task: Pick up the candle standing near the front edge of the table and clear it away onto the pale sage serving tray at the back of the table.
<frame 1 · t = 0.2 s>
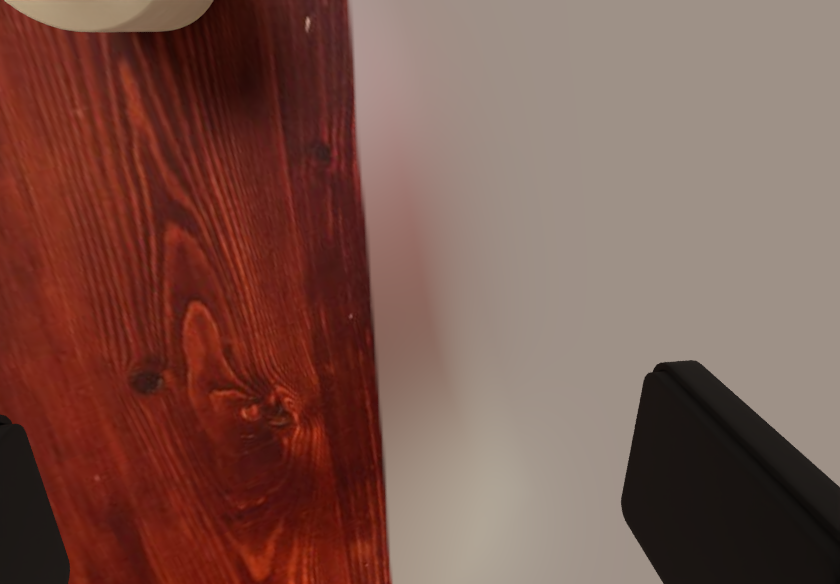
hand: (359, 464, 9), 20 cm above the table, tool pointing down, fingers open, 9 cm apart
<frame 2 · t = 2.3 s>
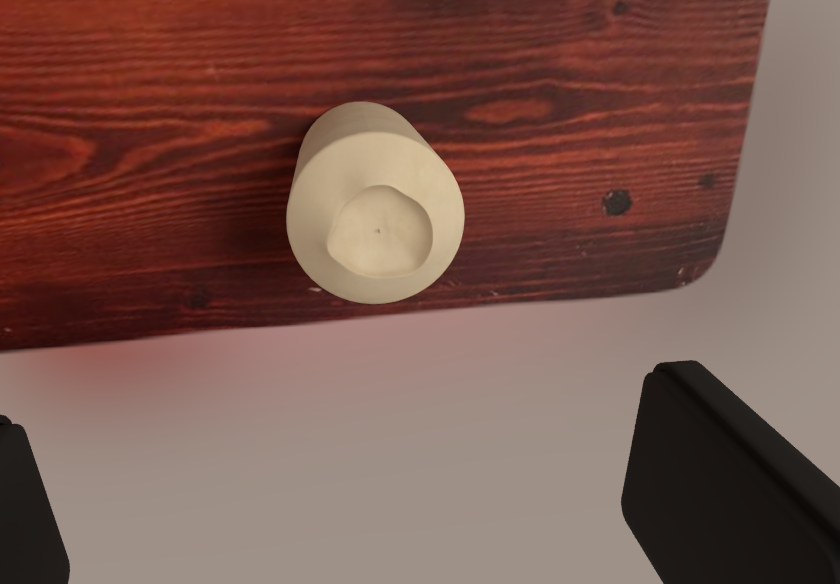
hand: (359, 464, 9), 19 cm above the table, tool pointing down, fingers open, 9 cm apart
candle: (362, 164, 26), on the table
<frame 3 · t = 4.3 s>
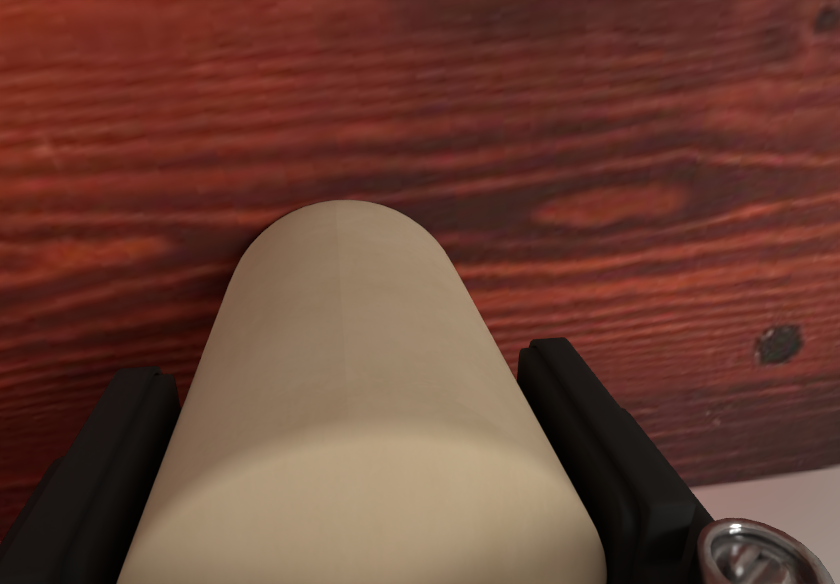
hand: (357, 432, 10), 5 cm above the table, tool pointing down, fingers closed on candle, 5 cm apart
candle: (346, 303, 14), on the table, touching gripper
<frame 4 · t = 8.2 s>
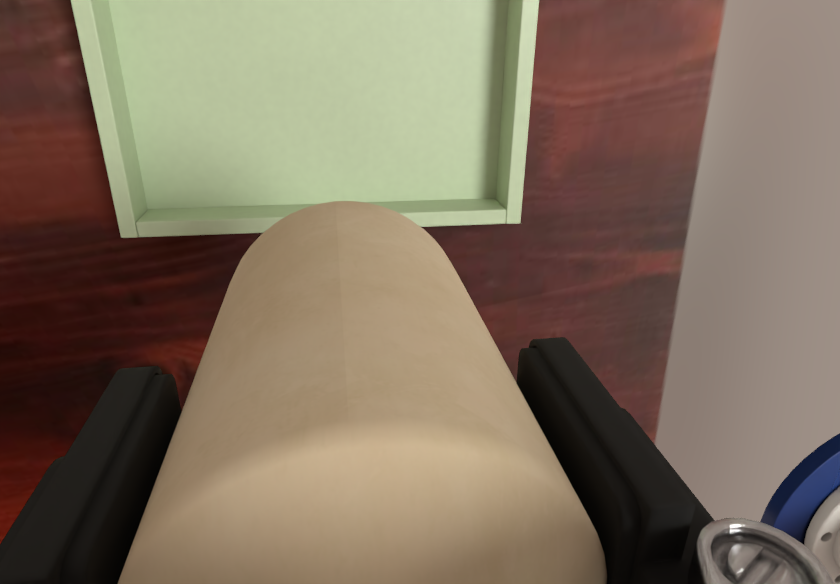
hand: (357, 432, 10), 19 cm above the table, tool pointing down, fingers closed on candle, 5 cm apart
tray: (321, 64, 25), on the table
candle: (346, 304, 14), point 14 cm above the table, touching gripper
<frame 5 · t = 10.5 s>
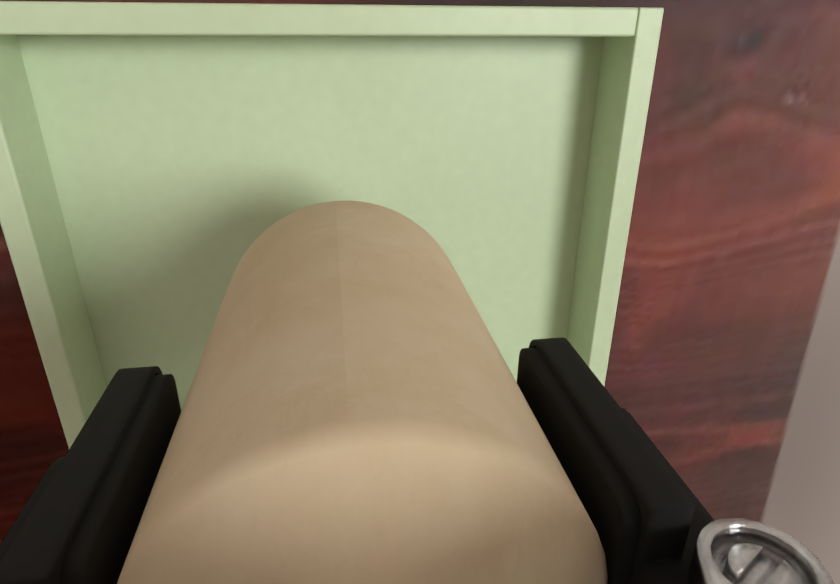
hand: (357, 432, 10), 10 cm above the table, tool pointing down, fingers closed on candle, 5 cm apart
tray: (340, 234, 19), on the table
candle: (346, 303, 14), point 5 cm above the table, touching gripper
when the fingers open (6 cm above the table, at t = 12.2 s): candle stays where it is, resting on tray.
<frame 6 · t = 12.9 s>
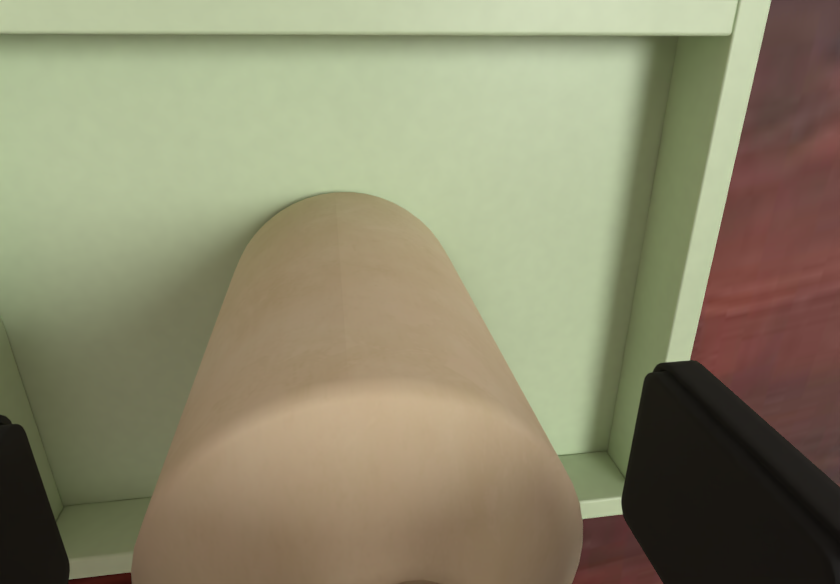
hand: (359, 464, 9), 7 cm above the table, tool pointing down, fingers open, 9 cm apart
tray: (341, 282, 15), on the table
candle: (345, 291, 15), resting on tray
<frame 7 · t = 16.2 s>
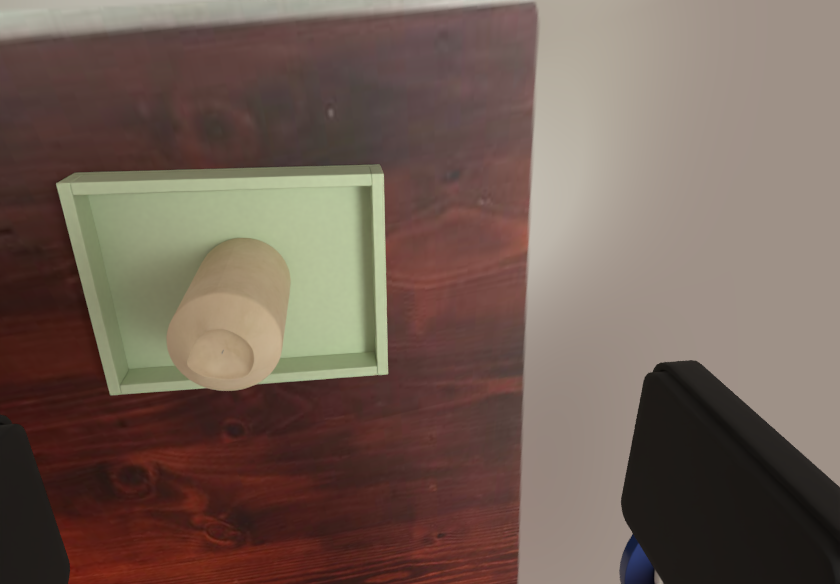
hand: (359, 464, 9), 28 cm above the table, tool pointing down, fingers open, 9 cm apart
tray: (245, 273, 37), on the table
candle: (246, 276, 37), resting on tray
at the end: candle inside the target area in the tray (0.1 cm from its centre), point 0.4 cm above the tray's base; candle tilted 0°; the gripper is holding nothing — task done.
